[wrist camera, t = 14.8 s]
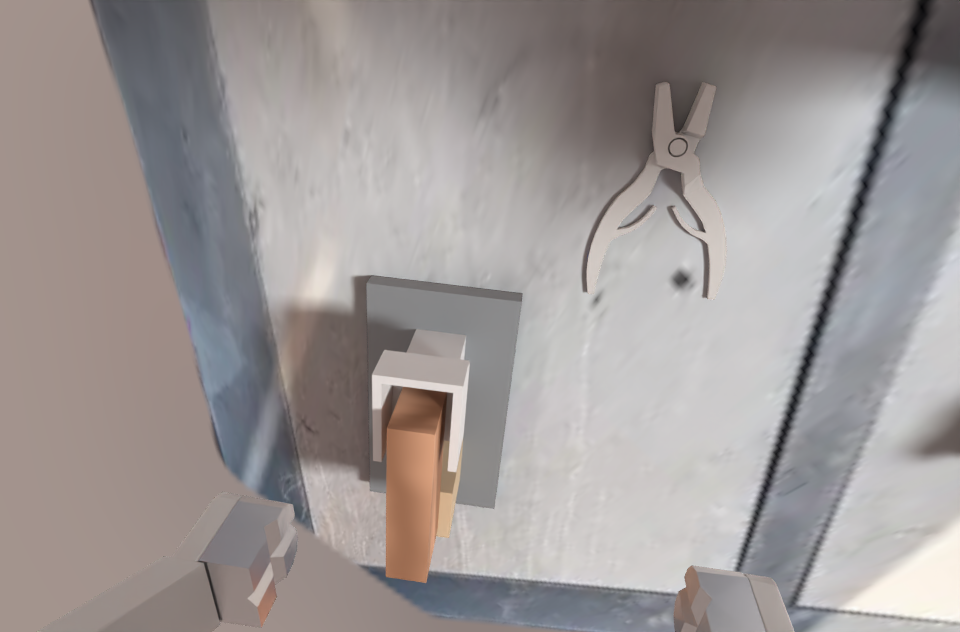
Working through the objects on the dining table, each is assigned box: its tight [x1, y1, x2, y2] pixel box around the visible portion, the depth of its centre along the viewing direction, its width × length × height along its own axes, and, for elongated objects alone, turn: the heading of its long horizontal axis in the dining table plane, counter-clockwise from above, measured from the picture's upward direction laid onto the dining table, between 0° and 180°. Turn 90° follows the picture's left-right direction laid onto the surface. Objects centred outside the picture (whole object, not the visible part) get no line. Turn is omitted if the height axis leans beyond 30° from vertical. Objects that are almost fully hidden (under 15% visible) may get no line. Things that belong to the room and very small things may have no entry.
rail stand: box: [366, 276, 522, 538], centre depth 44 cm, size 12×22×11 cm, turn 175°
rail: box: [386, 387, 447, 583], centre depth 39 cm, size 3×14×5 cm, turn 175°
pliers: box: [586, 82, 727, 300], centre depth 38 cm, size 10×2×15 cm
